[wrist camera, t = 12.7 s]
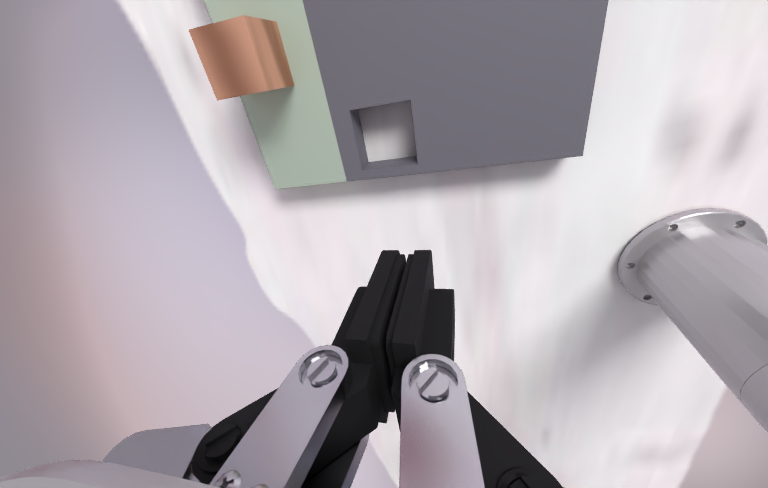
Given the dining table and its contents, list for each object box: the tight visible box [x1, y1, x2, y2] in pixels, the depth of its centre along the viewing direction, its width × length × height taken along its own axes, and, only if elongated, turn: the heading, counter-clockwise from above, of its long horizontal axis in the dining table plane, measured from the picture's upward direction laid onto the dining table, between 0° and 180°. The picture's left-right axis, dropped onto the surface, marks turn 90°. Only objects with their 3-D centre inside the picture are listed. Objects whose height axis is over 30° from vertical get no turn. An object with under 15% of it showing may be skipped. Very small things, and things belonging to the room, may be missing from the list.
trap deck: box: [204, 0, 608, 189], centre depth 26 cm, size 32×24×3 cm
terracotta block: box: [189, 15, 295, 100], centre depth 26 cm, size 5×5×5 cm
